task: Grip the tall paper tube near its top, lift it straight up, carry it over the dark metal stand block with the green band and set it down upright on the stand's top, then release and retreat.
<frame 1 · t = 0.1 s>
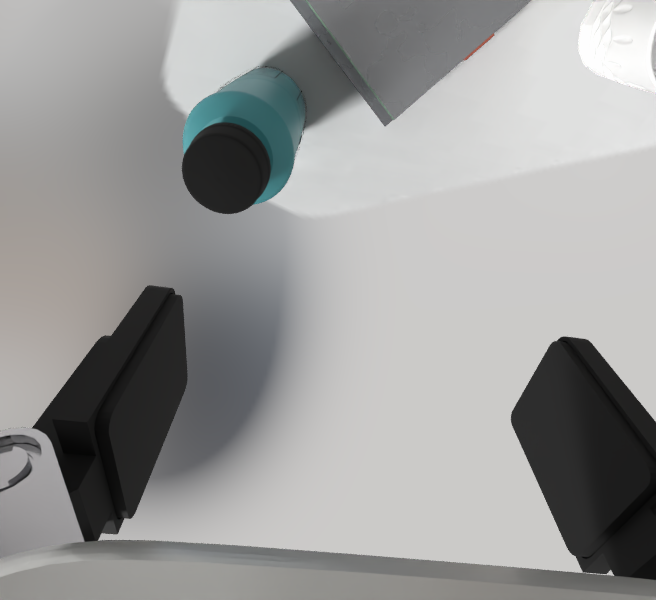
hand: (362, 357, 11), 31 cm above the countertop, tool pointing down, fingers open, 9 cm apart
white cup: (620, 27, 33), on the countertop
beverage bottle: (272, 106, 36), on the countertop
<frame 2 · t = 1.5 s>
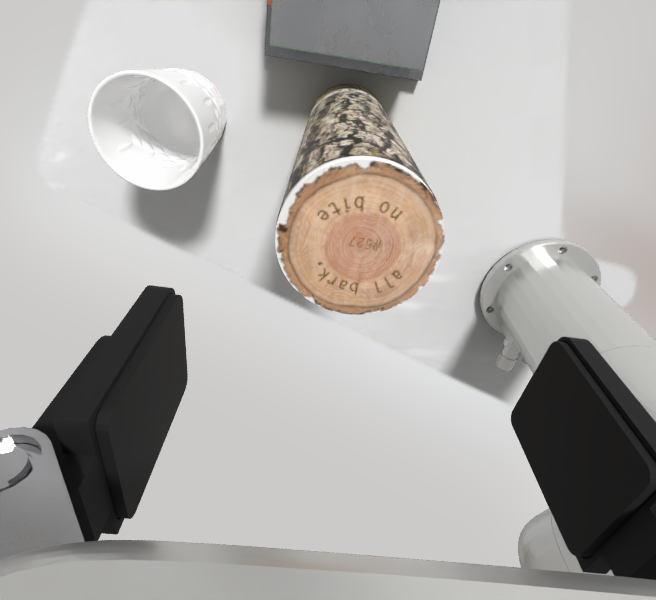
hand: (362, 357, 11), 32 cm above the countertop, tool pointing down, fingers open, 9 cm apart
paper tube: (346, 124, 38), on the countertop
white cup: (189, 111, 37), on the countertop
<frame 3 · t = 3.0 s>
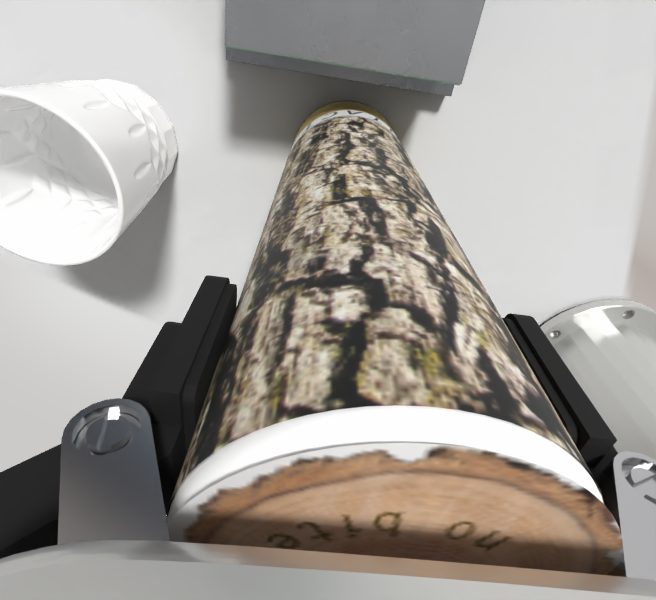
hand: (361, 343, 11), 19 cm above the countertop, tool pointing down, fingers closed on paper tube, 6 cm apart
paper tube: (344, 154, 27), on the countertop, touching gripper
white cup: (126, 136, 27), on the countertop
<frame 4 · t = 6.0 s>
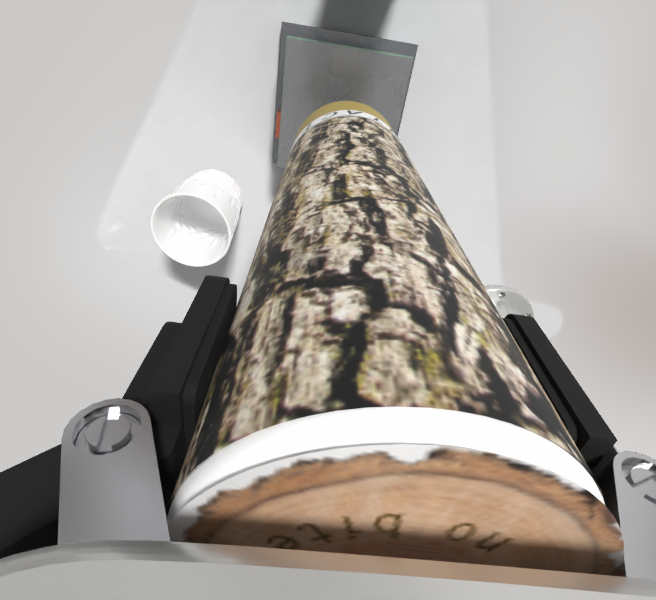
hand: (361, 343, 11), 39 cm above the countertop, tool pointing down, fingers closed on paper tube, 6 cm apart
paper tube: (344, 154, 27), point 20 cm above the countertop, touching gripper
white cup: (215, 196, 49), on the countertop
stand: (339, 106, 43), on the countertop
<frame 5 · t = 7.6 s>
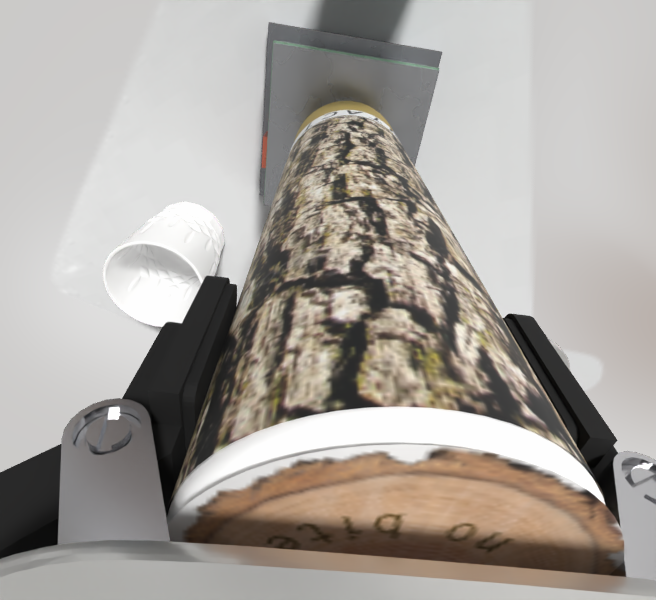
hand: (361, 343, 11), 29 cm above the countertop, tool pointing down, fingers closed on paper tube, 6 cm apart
paper tube: (344, 154, 27), point 9 cm above the countertop, touching gripper
white cup: (191, 233, 41), on the countertop
stand: (342, 126, 35), on the countertop
when the fingers open (27 cm above the countertop, at t = 9.1 s): paper tube drops 1 cm, resting on stand.
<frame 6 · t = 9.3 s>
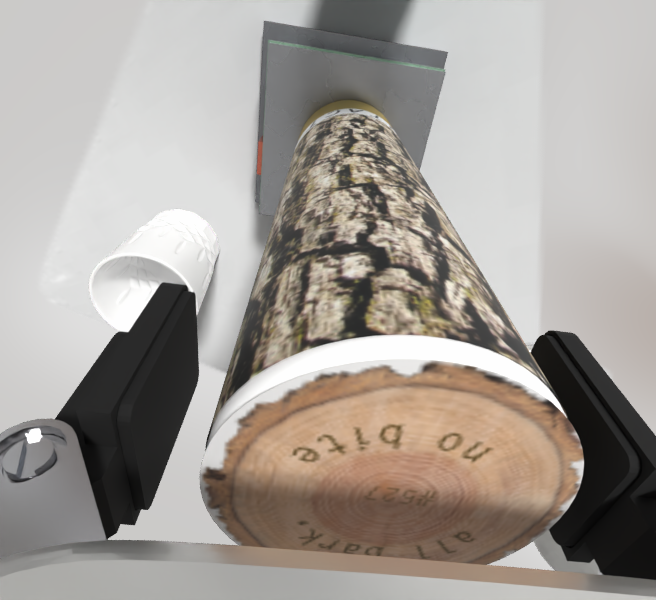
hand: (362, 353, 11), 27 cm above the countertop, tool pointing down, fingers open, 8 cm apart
paper tube: (346, 151, 29), point 6 cm above the countertop, touching stand
white cup: (184, 241, 39), on the countertop
stand: (342, 131, 33), on the countertop
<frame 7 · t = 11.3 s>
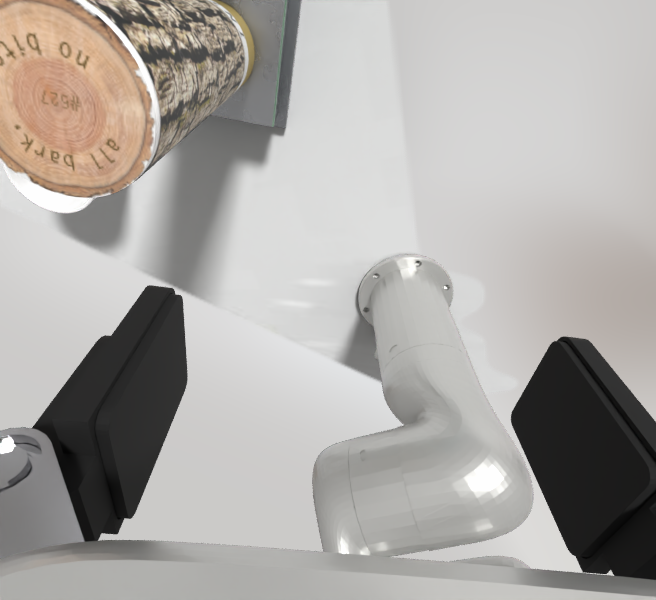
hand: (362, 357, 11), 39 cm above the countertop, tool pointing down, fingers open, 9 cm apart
paper tube: (216, 48, 35), point 6 cm above the countertop, touching stand
white cup: (101, 142, 45), on the countertop
stand: (227, 41, 39), on the countertop
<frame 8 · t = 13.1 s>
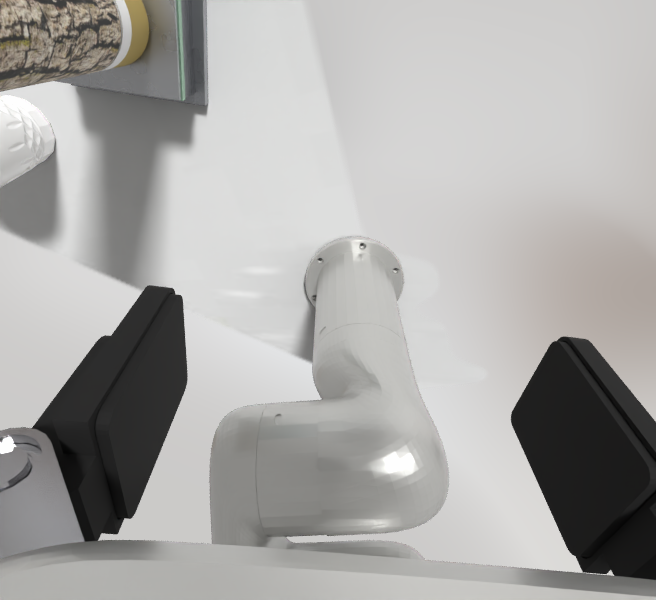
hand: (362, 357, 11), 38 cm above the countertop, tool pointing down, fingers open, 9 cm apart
paper tube: (110, 18, 34), point 6 cm above the countertop, touching stand
white cup: (23, 129, 44), on the countertop
stand: (136, 17, 38), on the countertop
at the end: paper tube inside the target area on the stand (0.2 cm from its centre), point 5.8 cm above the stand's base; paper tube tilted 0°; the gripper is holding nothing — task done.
